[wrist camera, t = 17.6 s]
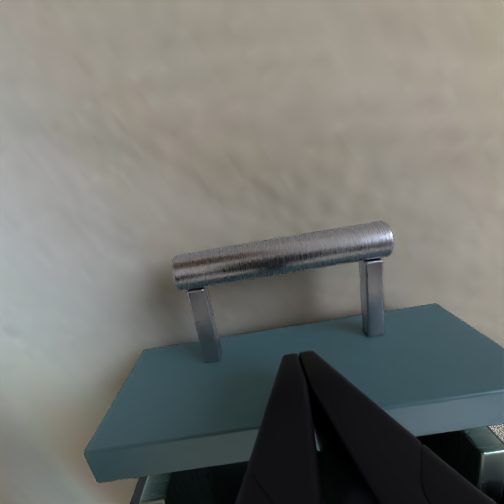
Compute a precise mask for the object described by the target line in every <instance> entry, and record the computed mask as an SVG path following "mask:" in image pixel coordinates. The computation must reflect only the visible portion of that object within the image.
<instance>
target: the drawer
mask: <svg viewBox="0 0 504 504" xmlns="http://www.w3.org/2000/svg"><path fill="white" fill-rule="evenodd" d="M393 248H394V238H393V234H392V231H391V229H390V227H389V225H388V224H387V223H386V222H384V221H378V222H372V223H366V224H360V225H354V226H348V227H342V228H336V229H330V230H324V231H318V232H313V233H307V234H301V235H295V236H289V237H283V238H277V239H271V240H265V241H259V242H253V243H248V244H242V245H236V246H230V247H224V248H218V249H212V250H206V251H200V252H194V253H189V254H183V255H177V256H175V257H174V258H173V261H172V274H173V279H174V282H175V285H176V287H177V288H178V289H179V290H181V291H183V290H188V291H187V295H188V299H189V303H190V307H191V311H192V314H193V318H194V322H195V326H196V330H197V333H198V337H199V341H196V342H190V343H183V344H177V345H171V346H165V347H158V348H152V349H146V350H144V351H143V353H142V355H141V356H140V358H139V360H138V361H137V363H136V365H135V366H134V368H133V370H132V371H131V373H130V375H129V377H128V378H127V380H126V382H125V383H124V385H123V387H122V388H121V390H120V392H119V393H118V395H117V397H116V399H115V400H114V402H113V404H112V405H111V407H110V409H109V410H108V412H107V414H106V415H105V417H104V419H103V421H102V422H101V424H100V426H99V427H98V429H97V431H96V432H95V434H94V436H93V437H92V439H91V441H90V443H89V444H88V446H87V448H86V449H85V451H84V456H85V458H86V460H87V462H88V464H89V466H90V468H91V470H92V472H93V474H94V477H95V479H96V481H97V482H99V483H102V482H109V481H116V480H122V479H129V478H136V477H143V476H148V477H147V480H146V483H145V486H144V489H143V492H142V495H141V498H140V501H139V504H235V502H236V499H237V496H238V493H239V490H240V487H241V484H242V481H243V478H244V475H245V472H246V471H247V466H248V463H249V460H250V456H251V453H252V450H253V447H254V444H255V441H256V438H257V435H258V431H259V428H260V425H261V422H262V419H263V416H264V413H265V409H266V406H267V403H268V400H269V397H270V394H271V391H272V388H273V384H274V381H275V378H276V375H277V372H278V369H279V366H280V363H281V359H282V357H283V355H285V354H291V353H297V354H298V357H299V353H300V352H303V351H309V350H312V351H314V352H316V353H317V354H318V355H319V356H320V357H322V358H323V359H324V360H325V361H326V362H327V363H329V364H330V365H331V366H332V367H333V368H334V369H336V370H337V371H338V372H339V373H340V374H342V375H343V376H344V377H345V378H346V379H347V380H349V381H350V382H351V383H352V384H353V385H355V386H356V387H357V388H358V389H359V390H360V391H362V392H363V393H364V394H365V395H366V396H368V397H369V398H370V399H371V400H372V401H373V402H375V403H376V404H377V405H378V406H379V407H381V408H382V409H383V410H384V411H385V412H386V413H388V414H389V415H390V416H391V417H392V418H393V419H395V420H396V421H397V422H398V423H399V424H401V425H402V426H403V427H404V428H405V429H406V430H408V431H409V432H410V433H411V434H412V435H414V436H415V437H416V438H417V439H418V440H419V441H420V442H421V447H422V445H426V446H427V447H428V448H429V449H430V450H431V451H433V452H434V453H435V454H436V455H437V456H439V457H440V458H441V459H442V460H443V461H444V462H446V463H447V464H448V465H449V466H451V467H452V468H453V469H454V470H456V471H457V472H458V473H459V474H460V475H462V476H463V477H464V478H465V479H467V480H468V481H469V482H470V483H471V484H473V485H474V486H475V487H476V488H478V489H479V490H480V491H482V492H483V493H484V494H486V495H487V496H488V497H490V498H491V499H492V500H494V501H495V502H496V503H498V504H501V497H502V491H503V485H504V445H503V444H502V443H501V442H500V441H499V440H498V439H497V438H496V437H495V435H494V434H493V433H492V432H491V431H490V430H489V429H488V428H487V427H486V426H492V425H499V424H504V348H503V347H502V346H500V345H499V344H497V343H496V342H494V341H493V340H491V339H490V338H488V337H487V336H485V335H484V334H482V333H480V332H479V331H477V330H476V329H474V328H473V327H471V326H470V325H468V324H467V323H465V322H464V321H462V320H461V319H459V318H458V317H456V316H455V315H453V314H452V313H450V312H449V311H447V310H446V309H444V308H443V307H441V306H440V305H438V304H436V303H434V304H428V305H421V306H415V307H409V308H403V309H396V310H390V311H384V287H383V260H382V259H380V258H383V257H388V256H389V255H391V254H392V252H393ZM358 261H359V272H360V291H361V310H362V315H359V316H353V317H346V318H340V319H334V320H328V321H321V322H315V323H309V324H302V325H296V326H290V327H284V328H277V329H271V330H265V331H259V332H252V333H246V334H240V335H234V336H227V337H221V338H219V335H218V331H217V326H216V322H215V318H214V314H213V310H212V305H211V301H210V297H209V293H208V289H207V286H213V285H219V284H225V283H231V282H237V281H244V280H250V279H256V278H262V277H268V276H274V275H280V274H286V273H292V272H298V271H304V270H310V269H316V268H322V267H328V266H334V265H340V264H346V263H352V262H358ZM314 432H315V431H314ZM315 440H316V447H317V454H318V462H319V470H320V478H321V485H322V493H323V501H324V504H339V502H338V500H337V497H336V494H335V491H334V488H333V485H332V483H331V480H330V477H329V474H328V471H327V469H326V466H325V463H324V460H323V457H322V454H321V451H320V448H319V445H318V442H317V439H316V435H315Z"/></svg>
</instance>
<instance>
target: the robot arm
mask: <svg viewBox="0 0 504 504" xmlns="http://www.w3.org/2000/svg"><path fill="white" fill-rule="evenodd" d="M314 431H315V432H314ZM315 435H316V439H317V442H318V445H319V448H320V451H321V454H322V457H323V460H324V463H325V466H326V469H327V471H328V474H329V477H330V480H331V483H332V485H333V488H334V491H335V494H336V497H337V500H338V502H339V504H498V503H496V502H495V501H494V500H492V499H491V498H490V497H488V496H487V495H486V494H484V493H483V492H482V491H480V490H479V489H478V488H476V487H475V486H474V485H473V484H471V483H470V482H469V481H468V480H467V479H465V478H464V477H463V476H462V475H460V474H459V473H458V472H457V471H456V470H454V469H453V468H452V467H451V466H449V465H448V464H447V463H446V462H444V461H443V460H442V459H441V458H440V457H439V456H437V455H436V454H435V453H434V452H433V451H431V450H430V449H429V448H428V447H427V446H426V445H422V447H421V442H420V441H419V440H418V439H417V438H416V437H415V436H414V435H412V434H411V433H410V432H409V431H408V430H406V429H405V428H404V427H403V426H402V425H401V424H399V423H398V422H397V421H396V420H395V419H393V418H392V417H391V416H390V415H389V414H388V413H386V412H385V411H384V410H383V409H382V408H381V407H379V406H378V405H377V404H376V403H375V402H373V401H372V400H371V399H370V398H369V397H368V396H366V395H365V394H364V393H363V392H362V391H360V390H359V389H358V388H357V387H356V386H355V385H353V384H352V383H351V382H350V381H349V380H347V379H346V378H345V377H344V376H343V375H342V374H340V373H339V372H338V371H337V370H336V369H334V368H333V367H332V366H331V365H330V364H329V363H327V362H326V361H325V360H324V359H323V358H322V357H320V356H319V355H318V354H317V353H316V352H314V351H312V350H309V351H303V352H300V353H299V357H298V354H297V353H291V354H285V355H283V357H282V359H281V363H280V366H279V369H278V372H277V375H276V378H275V381H274V384H273V388H272V391H271V394H270V397H269V400H268V403H267V406H266V409H265V413H264V416H263V419H262V422H261V425H260V428H259V431H258V435H257V438H256V441H255V444H254V447H253V450H252V453H251V456H250V460H249V463H248V466H247V471H246V472H245V475H244V478H243V481H242V484H241V487H240V490H239V493H238V496H237V499H236V502H235V504H324V501H323V493H322V485H321V478H320V470H319V462H318V454H317V447H316V440H315Z"/></svg>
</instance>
